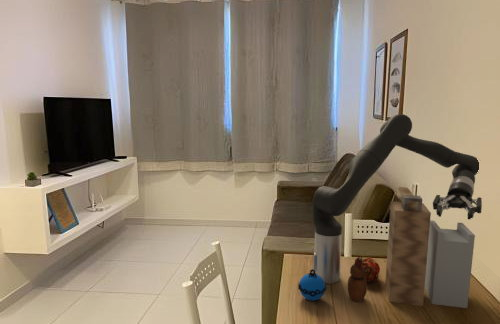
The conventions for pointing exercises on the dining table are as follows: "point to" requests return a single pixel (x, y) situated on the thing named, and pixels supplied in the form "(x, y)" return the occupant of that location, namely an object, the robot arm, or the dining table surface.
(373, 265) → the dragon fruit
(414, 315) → the dining table surface
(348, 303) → the dining table surface
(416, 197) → the light wooden block
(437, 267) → the grey post
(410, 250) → the walnut post
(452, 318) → the dining table surface
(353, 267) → the wooden figurine
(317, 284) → the ornament
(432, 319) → the dining table surface
